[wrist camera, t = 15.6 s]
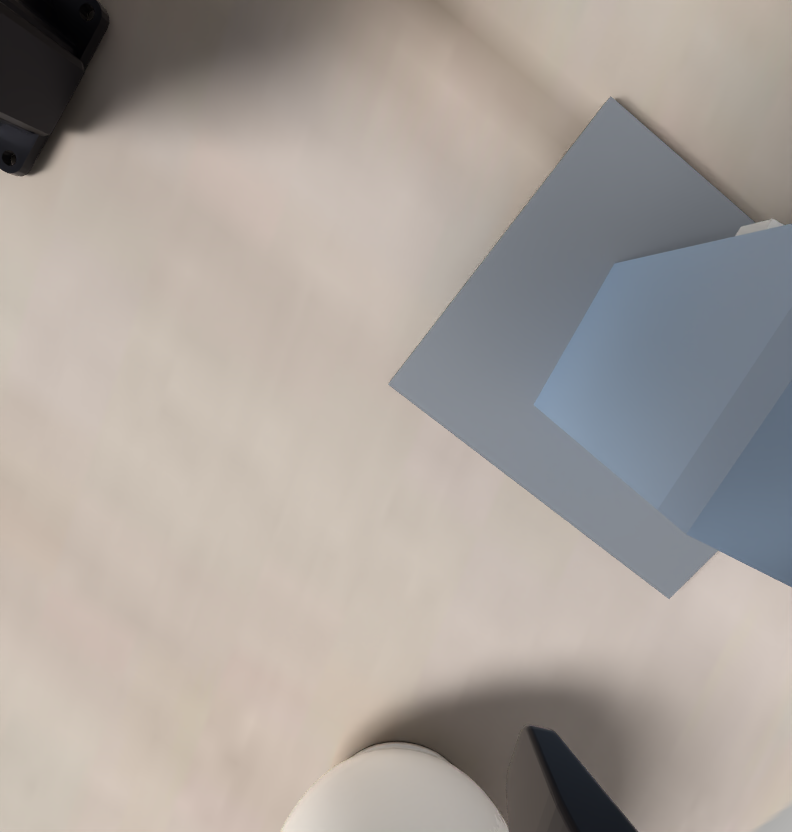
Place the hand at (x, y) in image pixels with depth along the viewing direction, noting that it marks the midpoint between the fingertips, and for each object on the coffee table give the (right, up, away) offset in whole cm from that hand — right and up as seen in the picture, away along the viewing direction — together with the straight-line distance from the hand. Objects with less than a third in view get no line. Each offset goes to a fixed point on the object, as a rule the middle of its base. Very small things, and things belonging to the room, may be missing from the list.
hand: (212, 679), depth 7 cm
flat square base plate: (+12, +5, +12) cm, 17 cm away
